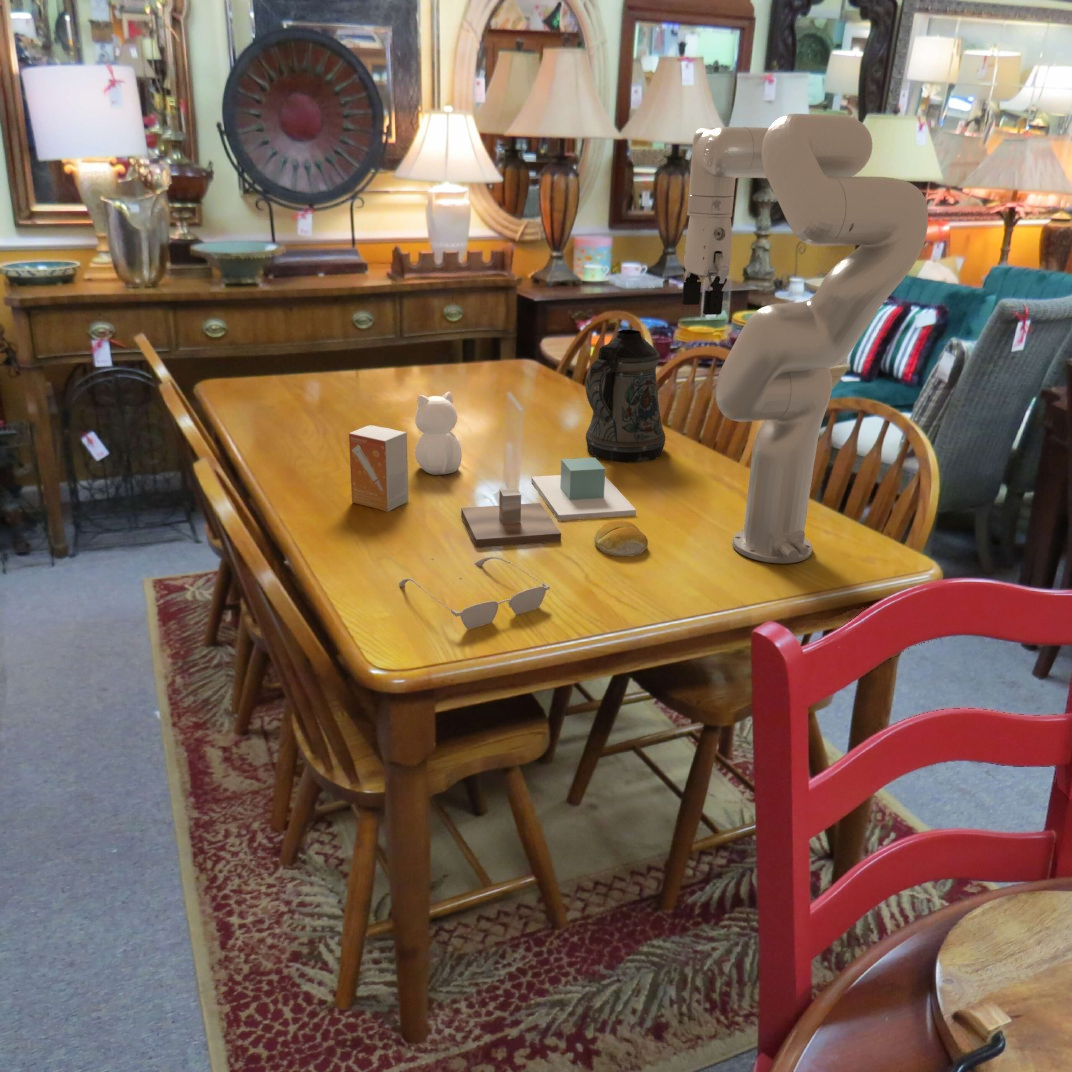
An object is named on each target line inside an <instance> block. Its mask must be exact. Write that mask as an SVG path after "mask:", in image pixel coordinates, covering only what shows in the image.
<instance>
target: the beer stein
mask: <svg viewBox="0 0 1072 1072" xmlns="http://www.w3.org/2000/svg"><path fill="white" fill-rule="evenodd" d="M597 357H598V359H597V360H595V361H594V362H593V363H592V364H591V366H590V369H589V370H588V372H587V375H586V378H585V385H584V386H585V392H586V393H585V394H586V398H587V401H588V403H589V406H590V407H591V409H592V415H591V416H592V417H591V420H590V424H589V426H588V429H587V431H586V433H585V441H586V446H587V447H586V448H587V451H588V453H589V454H590V455H592V456H593V457H594V458H596V459H597V458H598V459H600V460H605V461H607V462H616V463H625V464H629V463H630V464H633V463H634V464H636V463H638V464H639V463H646V462H647V463H648V462H651V461H654V460H656V459H658V458H660V457H661V456H662V454H663V449H664V448H665V444H666V433H665V431H664V428H663V424H662V418H661V412H660V411H661V410H660V403H659V397H658V396H659V394H658V382H657V366H658V365H659V361H660V357H661V355H660V353H659V352H658V350H657V349H656V348H655V347H654V346H653V345H652V344H650V343H649V342H648V341H647V340H646V339H645V338H643V336H642V334H641V331H639V330H636V329H620V330H618V331H617V332H616V336H615V337H613V338H612V340H611V341H609V342H608V343H607V344H603V345H602V346H601V347H600V348H599V352H598V354H597Z"/></svg>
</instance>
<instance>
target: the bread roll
mask: <svg viewBox="0 0 1072 1072" xmlns="http://www.w3.org/2000/svg"><path fill="white" fill-rule="evenodd" d="M593 537H594V545H595V546H596V547H597V548H599V550H600V551H601V552H603V553H604V554H607V555H610V556H614V557H635V556H638V555H641V554H642V553H644V551H645V549H647V547H648V545H649V544H648V543H649V542H648V541H649V540H648V538H647V536H646V535H645V534H644V533H643V532H642V531H641V530H640V529H639V528H638V527H637V526H636V525H635V524H633V523H632V522H630V521H626V520H610V521H608V522H606V523H604V524H601V526H600V527H598V529H597V531H596V533H595V535H594V536H593Z"/></svg>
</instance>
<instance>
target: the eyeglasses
mask: <svg viewBox="0 0 1072 1072" xmlns="http://www.w3.org/2000/svg"><path fill="white" fill-rule="evenodd" d="M492 559H495V560H501V561H504V562H505V563H507V564H509V565H512V566H513V567H514V568H516V569H518V570H520V571H522V573H524V574H526V575H527V576H530V578H532V579H534V580H535V581H537V582H538V583H539V584H541V585H542V586H541V585H540V586H536V587H535V586H534V587H531V588H528V589H525V590H522V591H519V592H517V593H515V594H514V595H512V597H511V598H508V599H503V600H500V601H495V600H488V601H483V602H480V603H475V604H473V605H470V606H466V607H465V608H464V609H462V610H461V611H456V610H455V609H454V608H452V609H451V608H449V607H448V606H446V605H445V604H443V603H442V602H441V601H440V600H438V599H437V598H436V597H434V596H433V595H431V594H430V593H429V592H428V591H427V590H426V589H424V588H423V587H422V586H421V585H420V584H419V583H418V582H417V581H416V580H414V579H413V578H408V577H407V578H403V579H401V581H400V582H398V585H399V586H400V587H401V588H405V586H406V583H407V582H409V581H410V582H413V583H414V584H416V586H417V587H418V588H420V589H421V590H423V591H424V592H425V593H426V594H428V595H429V596H430V597H431V598H432V599H434V600H435V601H436V602H438V603H439V604H441V605H442V606H444V607H445V608H446V609H448V610H449V611H450V613H451V614H452V615H453V616H455V617H460V619H461V622H462V624H463V625H464V627H465V628H466V630H471V629H475V628H479V627H482V626H485V625H489V624H492V623H493V622H494V620H495V618H496V615H497V613H498V610H499V605H500V604H502V603H505V602H508V607H509V608H510V609H511V610H512V612H513V613H514V614H515V616H518V615H520V614H524V613H528V612H531V611H534V610H537V609H539V608H540V607H541V605H542V603H543V600H544V599H545V596H546V593H547V591H549V590H550V588H551V587H550V586H549V585H548V584H546V583H545V582H541V581H540V580H538V579H536V578H535V576H533V575H530V574H529V573H528V572H526V571H525V570H524V569H522V568H520V567H518V566H517V565H514V563H511V561H509V560H507V559H504V558H502V557H500V556H499V557H498V556H487V557H483V558H481V559H479V560H477V561H476V562H474V565H476V566H478V567H483V565H484V564H485V562H487V561H488V560H489V561H490V560H492Z"/></svg>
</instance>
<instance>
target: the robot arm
mask: <svg viewBox="0 0 1072 1072" xmlns="http://www.w3.org/2000/svg"><path fill="white" fill-rule="evenodd" d="M691 150H692V151H691V160H690V161H691V163H690V175H689V186H688V187H689V188H688V197H687V198H688V199H687V213H686V214H687V216H688V217H689V219H688V226H687V230H686V231H687V232H686V238H685V246H684V253H683V256H682V257H683V268H682V270H683V272H684V273H683V276H682V280H683V282H682V283H683V284H682V293H681V294H682V296H681V304H682V305H684V306H693V305H696V306H697V305H700V300H701V289H702V281H700V280H701V278H704V279H705V285H706V288H707V289H705V290H704V297H703V298H704V299H703V310H702V314H704V315H705V316H709V315H713V316H714V315H721V314H722V312H723V301H724V292H725V290H726V284H727V282H728V279H727V277H729V275H730V274H731V264H732V263H731V262H732V261H731V260H732V245H733V243H732V239H733V237H732V233H733V232H732V219H731V218H732V217H733V208H734V198H735V197H734V196H735V188H736V187H735V186H736V179H743V178H744V179H747V178H748V179H750V178H751V179H767V180H768V183H769V185H770V188H771V190H772V192H773V194H774V196H775V198H776V200H777V202H778V204H779V208H781V211H782V213H783V215H784V218H785V219H786V222H787V224H788V226H789V227H790V229H791V231H792V233H793V234H794V236H796V238H797V239H799V240H800V241H801V242H803V243H804V244H807V245H810V246H815V247H816V246H817V247H820V246H821V247H826V246H828V247H830V246H835V247H836V246H858V247H857V248H856V249H854V250H853V252H851V253H850V254H848V255H847V256H845V257H844V258H842V259H841V260H840V261H838V262H837V264H835V265H834V266H833V267H832V268H831V269H830V270H829V272H828V273H827V274H826V275H825V276H824V278H823V280H822V282H821V283H820V285H819V287H818V289H817V290H816V291H815V293H814V294H813V295H812V296H811V297H810V298H809V299H808V300H804V301H799V302H790V303H785V302H784V303H773V304H768V305H766V306H763V307H760V308H759V309H757V310H756V311H755V312H753V313H752V314H751V315H750V317H749V318H748V319H747V320H746V321H745V324H744V326H742V329H741V331H740V333H739V334H738V335H737V338H736V340H735V341H734V344H733V346H732V348H731V350H730V351H729V354H728V355H727V357H726V359H725V361H724V363H723V364H722V367H721V369H720V370H719V374H718V377H717V378H716V379H717V380H716V385H715V402H716V405H717V407H718V410H719V411H720V412H721V414H722V415H723V416H724V417H726V418H727V419H729V420H731V421H735V422H740V423H741V422H759V421H763V422H762V424H761V426H760V427H759V429H758V431H757V433H756V435H755V439H754V442H753V446H752V447H753V448H752V454H751V462H750V470H749V480H748V487H747V488H748V489H747V497H746V505H745V506H746V507H745V515H744V523H743V529H742V530H739V531H738V532H736V533H735V534H734V535H733V537H732V542H731V543H732V547H733V549H734V550H735V551H736V552H738V553H739V554H741V555H743V556H744V557H747V558H749V559H752V560H755V561H758V562H764V563H770V564H795V563H798V562H802V561H805V560H807V559H808V558H810V556H811V555H812V552H813V545H812V543H811V542H810V541H809V540H808V539H807V538H806V533H805V529H806V522H807V516H808V515H807V514H808V507H809V502H810V496H811V489H812V479H813V472H814V466H815V461H816V455H817V454H816V453H817V449H818V447H817V446H818V442H819V436H820V431H821V427H822V424H823V420H824V416H825V413H826V412H827V409H828V405H829V402H830V399H831V396H832V390H833V377H832V372H831V368H834V367H836V366H838V365H840V364H841V363H842V362H844V360H845V359H846V358H847V357H848V356H849V354H850V353H851V352H852V350H853V349H854V347H855V346H856V345H857V344H858V341H859V340H860V339H861V338H862V336H863V334H864V333H865V331H866V330H867V329H868V327H869V326H870V324H871V322H872V321H873V319H874V318H875V316H876V315H877V313H878V311H879V310H880V308H881V307H882V306H883V304H884V303H885V302H886V300H887V299H889V297H890V295H891V294H892V293H893V292H894V291H895V290H896V289H897V287H898V286H899V285H900V284H901V283H902V281H904V279H905V278H906V276H907V275H908V274H909V273H910V271H911V270H912V268H914V265H915V264H916V262H917V260H918V259H919V257H920V255H921V253H922V251H923V249H924V245H925V242H926V238H927V234H928V233H927V232H928V229H929V228H928V226H929V209H928V203H927V200H926V197H925V196H924V194H923V192H922V191H921V190H920V189H919V188H918V187H917V186H916V185H915V184H913V183H911V182H909V181H906V180H904V179H900V178H895V177H886V176H855V175H857V174H858V173H859V172H861V171H862V170H863V169H864V168H865V167H866V165H867V164H868V162H869V160H870V158H871V155H872V151H873V139H872V135H871V133H870V131H869V129H868V128H867V127H866V125H865V124H863V122H861V121H860V120H859V119H857V118H855V117H852V116H848V115H842V114H825V113H824V114H821V113H820V114H817V113H815V114H814V113H790V114H786V115H783V116H780V117H778V119H776V120H775V121H773V123H771V125H770V126H769V127H757V126H756V127H754V126H751V127H749V126H748V127H747V126H723V127H701V128H699V129H697V130H696V131H695V133H694V135H693V137H692V149H691Z"/></svg>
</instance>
